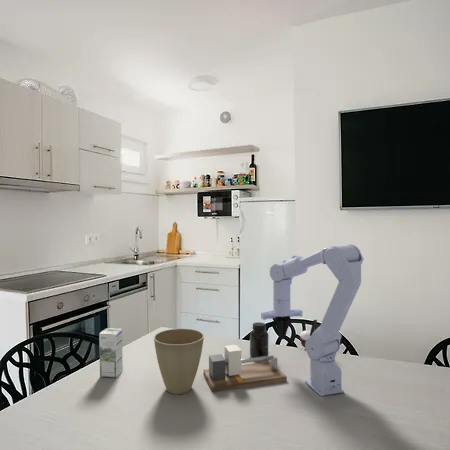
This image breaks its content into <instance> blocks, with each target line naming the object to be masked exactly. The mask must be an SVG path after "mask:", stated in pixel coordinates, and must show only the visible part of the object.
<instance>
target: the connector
mask: <svg viewBox="0 0 450 450" xmlns="http://www.w3.org/2000/svg"><path fill="white" fill-rule="evenodd" d="M208 369H209V375H210V377H211V379H212V380H213V381H218V380H225V357H224V356H223V354H222V353H221V354H220V353H219V354H212V355H208Z"/></svg>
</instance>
